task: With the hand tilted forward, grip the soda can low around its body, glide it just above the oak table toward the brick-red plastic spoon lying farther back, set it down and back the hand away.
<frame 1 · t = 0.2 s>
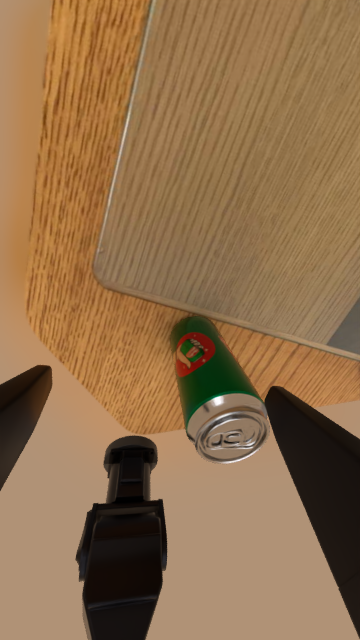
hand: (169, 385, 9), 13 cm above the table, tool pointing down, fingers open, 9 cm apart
soda can: (192, 334, 23), on the table
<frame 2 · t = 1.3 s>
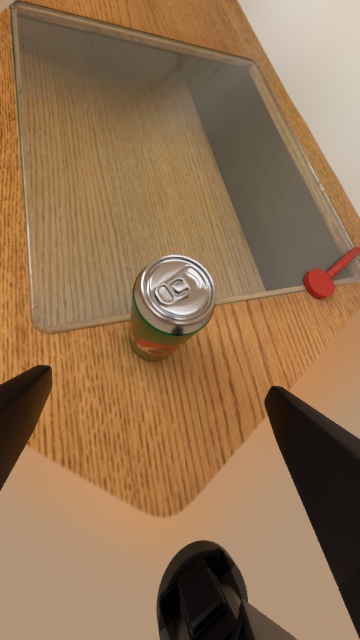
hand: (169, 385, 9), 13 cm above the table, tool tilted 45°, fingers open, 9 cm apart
soda can: (152, 338, 23), on the table
spoon: (331, 271, 33), on the table
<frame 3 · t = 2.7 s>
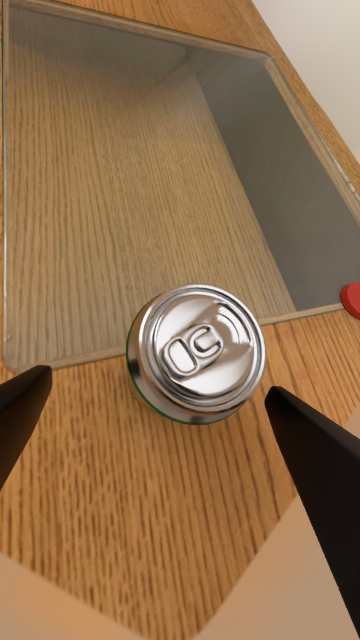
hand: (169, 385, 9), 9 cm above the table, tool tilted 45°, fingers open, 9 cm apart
soda can: (158, 376, 18), on the table
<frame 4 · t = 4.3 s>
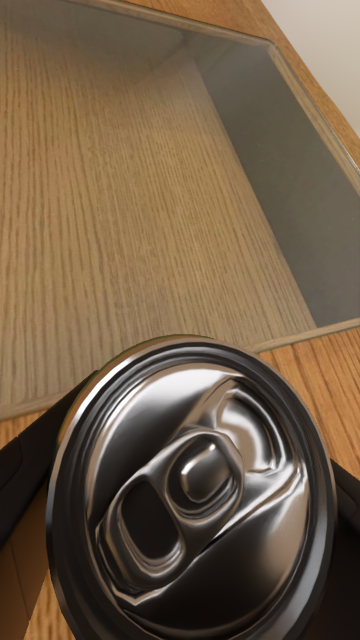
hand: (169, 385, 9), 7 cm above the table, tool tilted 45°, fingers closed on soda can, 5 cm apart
soda can: (156, 417, 14), on the table, touching gripper
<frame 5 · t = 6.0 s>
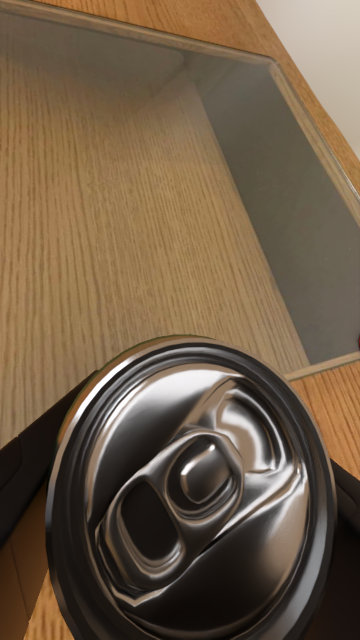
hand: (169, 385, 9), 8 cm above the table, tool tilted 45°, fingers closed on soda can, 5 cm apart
soda can: (155, 417, 14), point 2 cm above the table, touching gripper
when the fingers open (7 cm above the table, at t = 8.1 s): soda can stays where it is, on the table.
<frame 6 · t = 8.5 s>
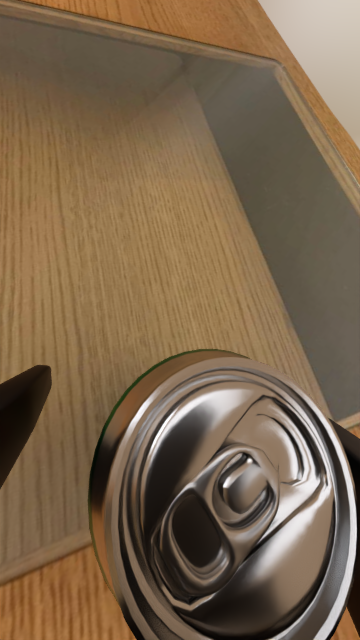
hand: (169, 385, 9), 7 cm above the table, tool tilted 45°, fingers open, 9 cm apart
soda can: (156, 419, 15), on the table
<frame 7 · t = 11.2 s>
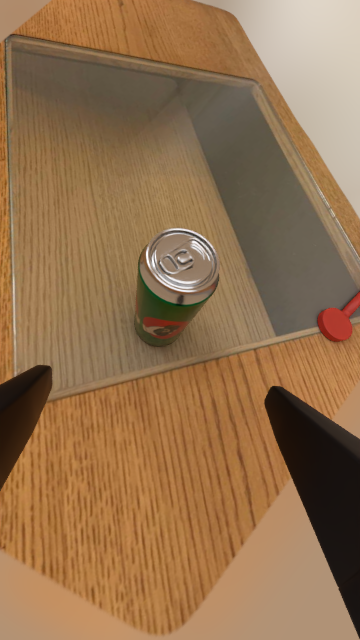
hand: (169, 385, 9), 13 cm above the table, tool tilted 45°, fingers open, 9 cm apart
soda can: (157, 325, 23), on the table
spoon: (347, 308, 30), on the table
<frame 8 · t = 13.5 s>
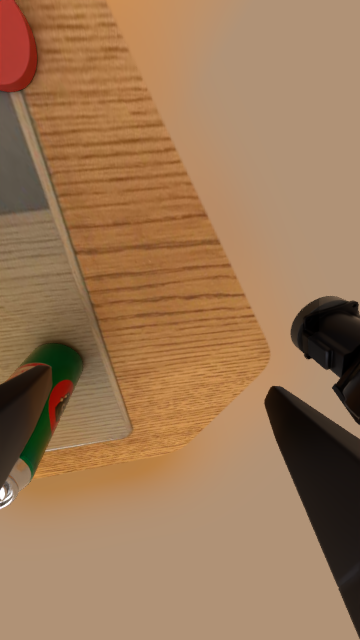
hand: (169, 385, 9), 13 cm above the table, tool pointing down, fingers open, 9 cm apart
soda can: (60, 359, 23), on the table
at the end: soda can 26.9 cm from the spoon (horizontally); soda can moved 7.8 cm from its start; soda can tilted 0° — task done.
